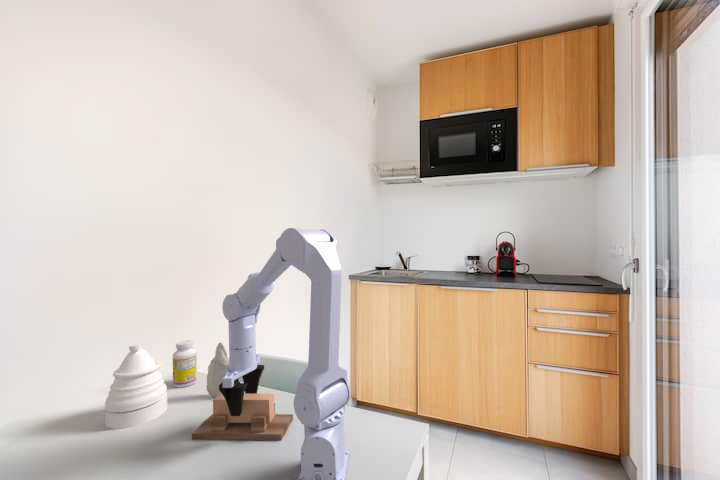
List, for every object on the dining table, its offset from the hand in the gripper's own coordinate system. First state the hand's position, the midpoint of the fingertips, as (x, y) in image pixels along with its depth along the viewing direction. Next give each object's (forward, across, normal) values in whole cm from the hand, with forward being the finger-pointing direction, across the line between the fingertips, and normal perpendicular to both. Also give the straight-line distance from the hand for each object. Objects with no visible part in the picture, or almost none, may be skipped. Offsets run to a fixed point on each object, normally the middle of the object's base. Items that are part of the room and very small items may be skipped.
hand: (244, 406), depth 71 cm
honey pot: (+5, -6, -31) cm, 32 cm away
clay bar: (+3, 0, 0) cm, 3 cm away
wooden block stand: (+5, 0, 0) cm, 5 cm away
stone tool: (+5, -16, -15) cm, 23 cm away
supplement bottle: (+5, -24, -30) cm, 39 cm away
